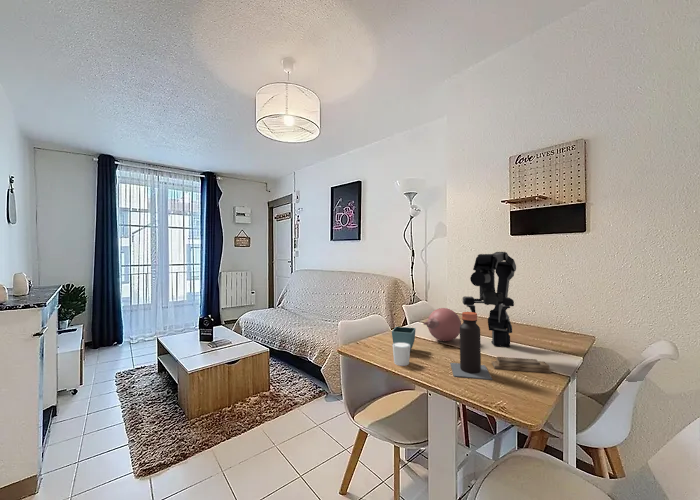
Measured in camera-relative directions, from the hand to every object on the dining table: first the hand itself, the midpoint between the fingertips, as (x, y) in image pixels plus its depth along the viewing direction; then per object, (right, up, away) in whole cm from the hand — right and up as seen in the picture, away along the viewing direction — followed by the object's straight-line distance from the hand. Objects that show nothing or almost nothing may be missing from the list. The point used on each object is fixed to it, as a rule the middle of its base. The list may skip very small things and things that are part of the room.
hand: (487, 322), depth 123 cm
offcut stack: (+5, -13, -16) cm, 21 cm away
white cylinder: (-37, -14, -10) cm, 41 cm away
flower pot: (-34, -14, +5) cm, 37 cm away
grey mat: (-15, -13, -18) cm, 27 cm away
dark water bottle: (-14, -13, -18) cm, 26 cm away
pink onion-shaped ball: (-14, -14, +18) cm, 26 cm away
